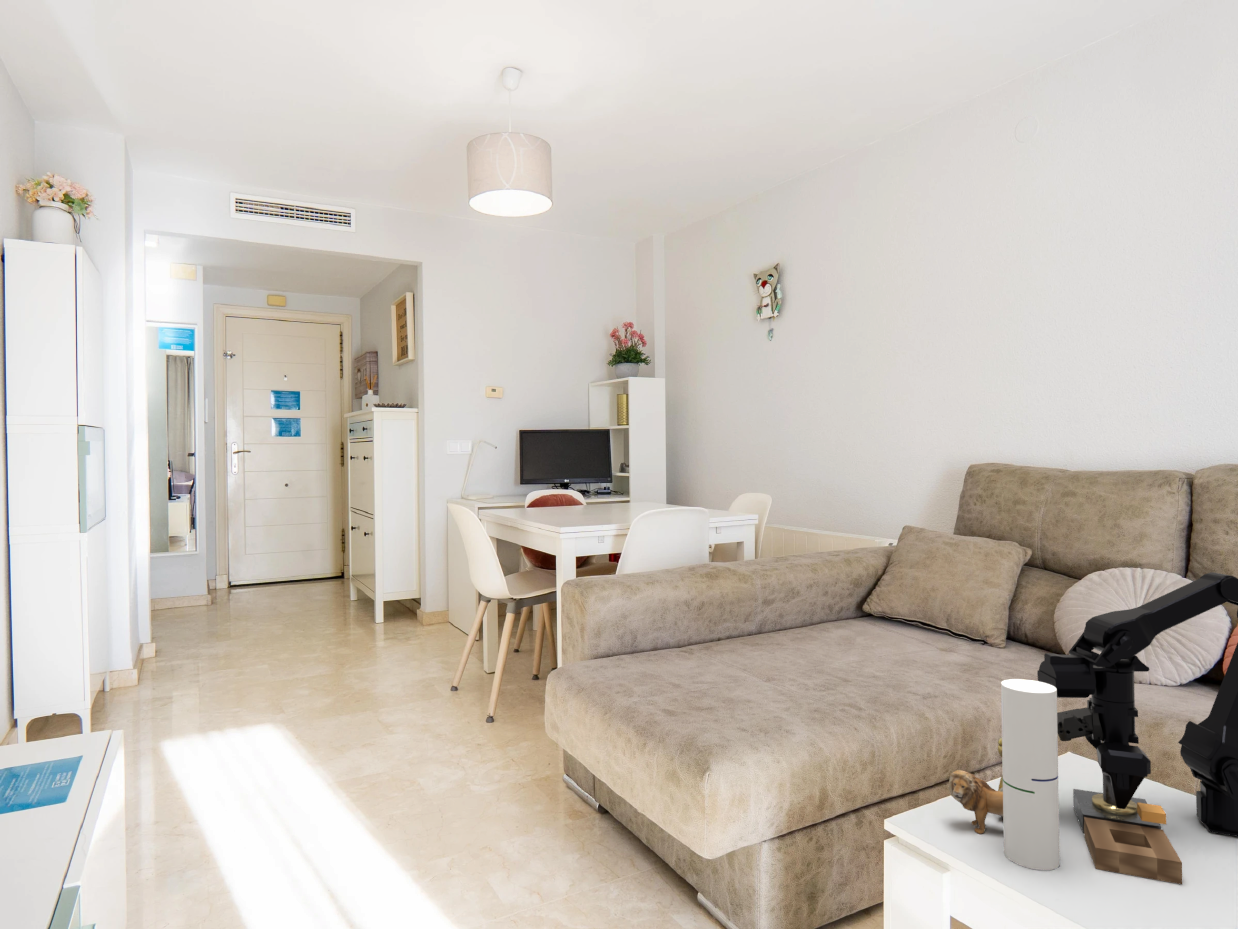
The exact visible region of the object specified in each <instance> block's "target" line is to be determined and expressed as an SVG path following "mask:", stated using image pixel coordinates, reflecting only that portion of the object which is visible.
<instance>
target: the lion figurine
mask: <svg viewBox="0 0 1238 929" xmlns="http://www.w3.org/2000/svg"><path fill="white" fill-rule="evenodd" d="M947 788H948V789H947V790H948V792H949V794H950V796H951V797H952V798H953V799H954V800H955V801H957V802H959V803H960V804H961V805H962V807H963V809H965V810H967V811H971V812H973V813H974V816H975V820H974V819H973V820H972V821H971V825H972V826H975V827H976V828H974V832H975V833H976V834H979V835H982V834H984V833H985V830H986V819H987V818H986V817H987V815H988V813H989V814H992V815H995V816H999V817H1002V816H1003V792H1000V791H998V790H996V789H994V788H993V787H991V786H990V784H988V782H987V781H985V780H983V779H981V778H979V777H976V776H975V774H973V773H971V772H969V771H967V770H962V769H960V770H959V769H957V770H955V771H953V772H952V773H949V782H948V786H947Z"/></svg>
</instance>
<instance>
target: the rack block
mask: <svg viewBox="0 0 1238 929" xmlns="http://www.w3.org/2000/svg"><path fill="white" fill-rule="evenodd" d="M1083 836H1084V840H1085V842H1086V846H1087V848H1088V851H1089V854H1090V857H1091V860H1092V862H1093V864H1094V868H1095V870H1101V871H1106V872H1111V873H1112V872H1113V873H1117V874H1121V875H1122V874H1123V875H1129V876H1134V877H1139V878H1144V879H1150V880H1156V881H1162V882H1168V883H1170V884H1171V883H1172V884H1177V885H1183V862H1182V859H1181V858H1180V856H1179V855H1178V853H1177V852H1176V850H1175V847H1174V846H1173V845H1172V842H1171V841H1170V839H1169V838H1168V835H1167V834H1166V833H1165V830H1164V829H1162V828H1161V829H1156V828H1150V827H1144V826H1137V825H1131V824H1125V823H1118V822H1112V821H1106V820H1099V819H1093V818H1087V817H1084V834H1083Z"/></svg>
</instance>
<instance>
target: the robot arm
mask: <svg viewBox="0 0 1238 929" xmlns="http://www.w3.org/2000/svg"><path fill="white" fill-rule="evenodd" d="M1225 603H1227V604H1231V605H1234V606H1237V607H1238V577H1237V576H1234V575H1230V574H1229V575H1228V574H1224V573H1218V572H1211V571H1210V572H1208V573H1207V572H1206V573H1205V574H1203V575H1201V576H1200V577H1199V578H1198V579H1196V580H1193V581H1191V582H1189V583H1187V584H1185V585H1183V586H1181V587H1178V588H1176V589H1174V590H1171V591H1170V592H1168V593H1166V594H1163V595H1161V596H1159V597H1157V598H1155V599H1152V600H1151V601H1148V602H1146V603H1144V604H1142V605H1140V606H1137V607H1134V608H1130V609H1121V610H1114V611H1110V612H1106V613H1102V614H1098V615H1096V616H1092V617H1091V618H1090V619H1088V620H1087V621H1086V622H1085V627H1084V629H1083V632H1082V634H1080V636H1079V637H1078V639H1077V640H1076V641H1075V643H1074V644H1073V645H1072V647H1071V648H1070V649H1069V651H1068V654H1057V653H1054V652H1053V653H1051V652H1049V653H1048V652H1046V653H1044V655H1043V656H1044V659H1043V661H1041V663H1040V665H1039V668H1038V670H1037V674H1036V676H1037V681H1039V682H1044V683H1047V684H1050V685H1053V686H1054V687H1056V689H1057V699H1058V698H1059V699H1087V698H1089V699H1087V700H1086V701H1087V702H1086V703H1087V704H1086V705H1087V706H1086V707H1083V708H1074V709H1068V710H1063V711H1060V712H1059V711H1057V732H1058V738H1059V740H1060V741H1061V742H1069V741H1072V740H1073V739H1078V738H1084V737H1085V739H1086V741H1088V743H1089V744H1090V745H1091V746H1092V747H1093V748H1094V749H1095V750H1096V756H1097V763H1098V765H1099V767H1100V769H1101V773H1102V775H1103V772H1106V773H1107V774H1108V775H1109V776H1110V780H1111V785H1112V790H1113V794H1114V799H1115V803H1116V807H1117V808H1119V809H1125V808H1126V807H1127V805H1128V803H1129V802H1130V800H1131V798H1132V797H1133V796H1134V795H1135V793H1136V791H1138V789H1139V787H1140V785H1141V784H1142V782H1143V781H1144V779H1145V778H1147V777H1148V775H1151V773H1152V767H1151V766H1152V765H1151V764H1152V763H1151V762H1152V761H1151V760H1150V758H1149V757H1148V755H1147V754H1146V752H1145V751H1143V750H1142V749H1141V748H1140V747H1139V746H1138V744H1139V743H1140V742H1139V736H1138V734H1137V732H1136V718H1139V710H1138V709H1137V708H1136V703H1135V702H1136V699H1135V697H1136V696H1135V672H1138V673H1139V672H1140V673H1141V672H1142V673H1143V672H1145V673H1147V672H1149V671H1150V667H1149V666H1147V665H1146V664H1145V663H1143V662H1142V661H1141V660H1140V658H1139V657H1138V656H1137V655H1138V654H1139V653H1141V652H1142V651H1144V650H1145V649H1146V648H1148V647H1150V646H1151V644H1152V642H1153V641H1154V640H1155V638H1156V636H1158V635H1159V634H1161V633H1162V632H1164V631H1167V630H1169V629H1171V628H1173V627H1175V626H1177V625H1179V624H1182V623H1184V622H1186V621H1188V620H1191V619H1192V618H1195V617H1197V616H1199V615H1201V614H1204V613H1206V612H1208V611H1210V610H1213V609H1214V608H1216V607H1219V606H1221V605H1223V604H1225ZM1236 618H1237V619H1238V609H1237V611H1236ZM1094 650H1096V651H1099V652H1100V653H1098V652H1095V651H1094ZM1090 696H1091V697H1090ZM1211 707H1212V708H1211V709H1210V712H1209V714H1208V716H1207V717H1206V718H1204V719H1203V720H1202V721H1201V722H1199V723H1196V722H1194V721H1192V720H1189V721H1187V723H1186V724H1185V730H1184V733H1183V736H1182V738H1180V740H1179V741H1178V743H1177V744H1179V745H1181V746H1180V749H1179V750H1180V751H1179V752H1180V756H1181V758H1182V760H1183V762H1184V764H1185V765H1186V766H1187V767H1188V768H1189V769H1190V772H1191V774H1192V776H1193V778H1195V779H1197V780H1200V781H1199V783H1200V784H1199V787H1200V788H1199V790H1196V791H1195V793H1196V794H1195V799H1196V800H1195V801H1196V802H1195V804H1196V817H1197V818H1198V820H1200V822H1201V824H1203V826H1204V827H1205V828H1206V830H1207V831H1208V832H1210V833H1212V834H1213V833H1214V834H1220V835H1225V836H1226V835H1227V836H1232V837H1233V836H1234V837H1238V642H1237V643H1236V646H1235V649H1234V651H1233V652H1232V656H1231V659H1230V661H1229V664H1228V665H1227V669H1226V671H1225V674H1224V677H1223V679H1222V682H1221V683H1220V687H1219V689H1218V692H1217V694H1216V697H1215V699H1214V702H1213V704H1212V706H1211ZM1130 744H1131V745H1130ZM1132 744H1136V745H1132ZM1133 798H1134V797H1133Z"/></svg>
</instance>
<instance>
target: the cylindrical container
mask: <svg viewBox="0 0 1238 929" xmlns="http://www.w3.org/2000/svg"><path fill="white" fill-rule="evenodd" d="M1000 695H1001V696H1000V697H1001V698H1000V699H1001V701H1000V702H1001V737H1002V757H1001V760H1002V761H1001V762H1002V763H1001V764H1002V766H1001V767H1002V774H1003V817H1002V819H1003V820H1002V821H1003V823H1002V825H1003V827H1002V828H1003V854H1004V856H1005V857H1006V858H1007V859H1008V860H1009V861H1011V862H1013V863H1014V864H1017V865H1018V866H1021V867H1024V868H1027V869H1031V870H1035V871H1036V870H1037V871H1052V870H1055V869H1057V868H1059V867H1060V865H1061V861H1060V860H1061V859H1060V858H1061V857H1060V854H1061V853H1060V852H1061V850H1060V811H1059V810H1060V804H1059V803H1060V802H1059V800H1060V798H1059V795H1060V794H1059V750H1058V748H1059V747H1058V746H1059V743H1058V742H1059V741H1058V740H1059V739H1058V738H1059V736H1058V732H1057V713H1058V698H1057V689H1056V687H1054V686H1053V685H1050V684H1047V683H1044V682H1039V681H1038V680H1032V679H1023V678H1010V679H1009V678H1008V679H1004V680H1001V681H1000Z"/></svg>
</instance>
